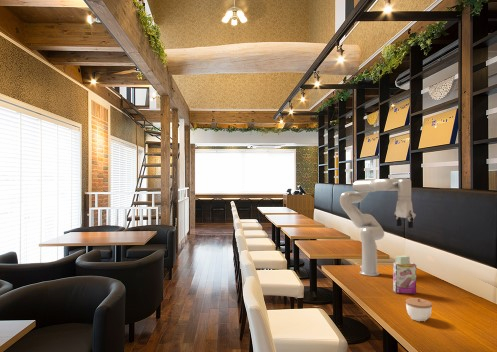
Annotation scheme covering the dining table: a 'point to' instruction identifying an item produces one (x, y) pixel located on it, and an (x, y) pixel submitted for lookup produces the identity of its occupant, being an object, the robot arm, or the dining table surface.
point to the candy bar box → (404, 278)
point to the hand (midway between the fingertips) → (404, 226)
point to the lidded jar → (418, 308)
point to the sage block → (402, 259)
